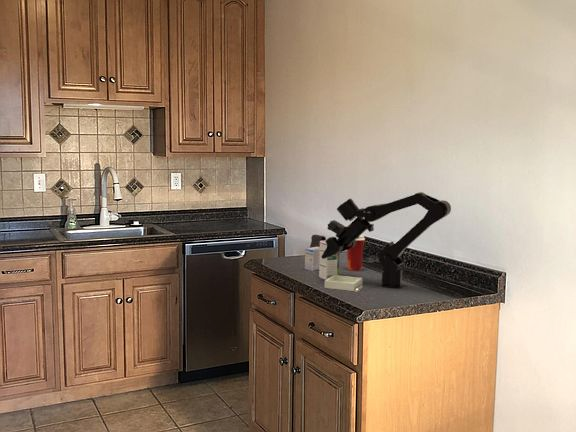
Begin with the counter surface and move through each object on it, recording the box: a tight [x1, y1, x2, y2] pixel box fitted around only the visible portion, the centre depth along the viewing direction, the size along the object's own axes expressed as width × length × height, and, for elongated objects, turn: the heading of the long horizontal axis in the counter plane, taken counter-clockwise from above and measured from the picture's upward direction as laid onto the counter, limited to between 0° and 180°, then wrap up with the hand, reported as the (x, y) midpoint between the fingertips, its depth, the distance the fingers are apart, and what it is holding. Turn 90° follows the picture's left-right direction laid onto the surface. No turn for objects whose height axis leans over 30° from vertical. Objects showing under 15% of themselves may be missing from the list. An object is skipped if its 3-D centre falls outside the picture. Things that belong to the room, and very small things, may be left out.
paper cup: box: [346, 234, 366, 272], centre depth 265 cm, size 8×8×14 cm
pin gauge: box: [353, 284, 364, 293], centre depth 229 cm, size 8×1×1 cm, turn 158°
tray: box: [323, 274, 363, 292], centre depth 234 cm, size 11×11×3 cm
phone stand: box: [309, 234, 327, 248], centre depth 277 cm, size 9×6×12 cm, turn 129°
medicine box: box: [304, 247, 320, 272], centre depth 264 cm, size 8×4×9 cm, turn 141°
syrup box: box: [318, 241, 340, 281], centre depth 247 cm, size 6×6×14 cm
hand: (326, 256), depth 247 cm, fingers open, 8 cm apart
